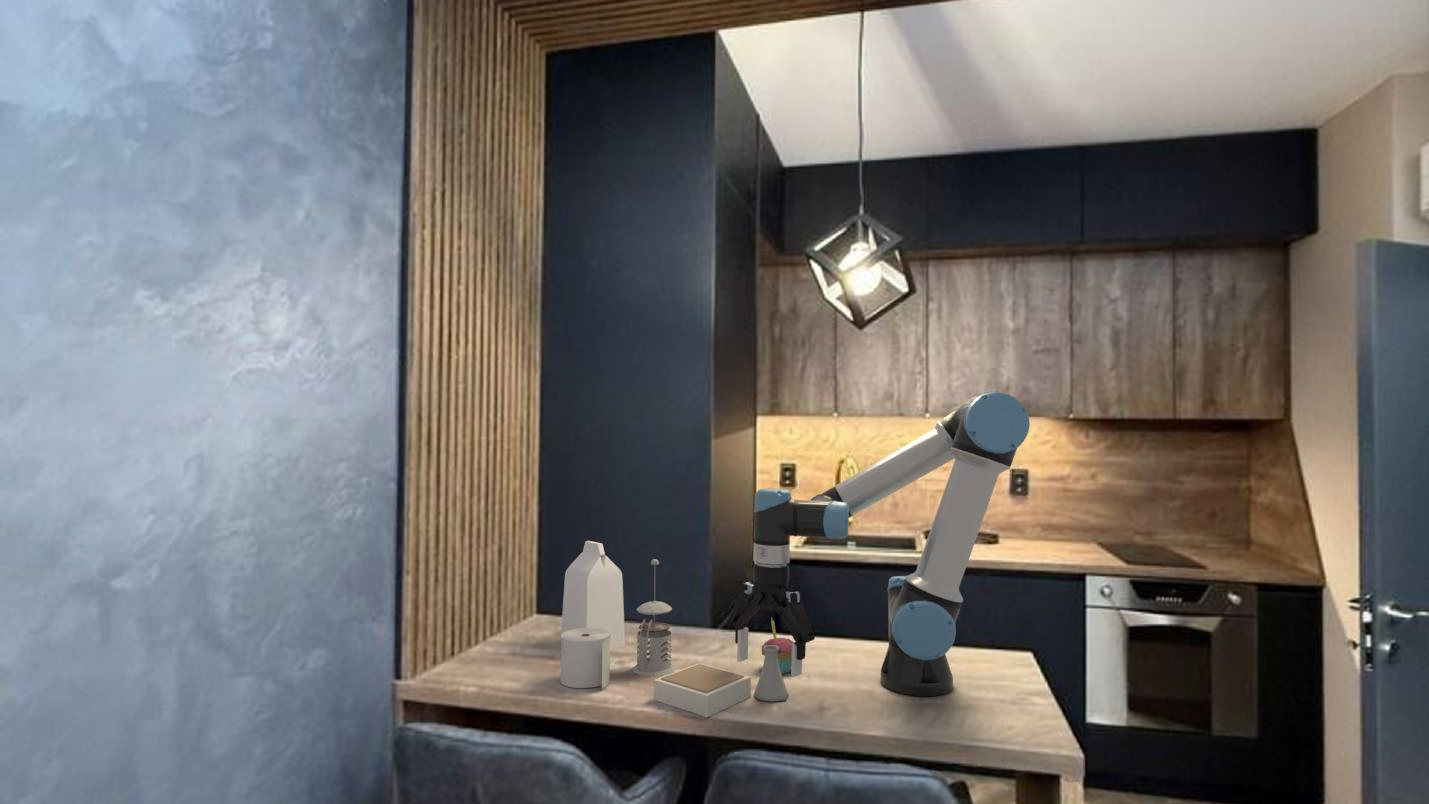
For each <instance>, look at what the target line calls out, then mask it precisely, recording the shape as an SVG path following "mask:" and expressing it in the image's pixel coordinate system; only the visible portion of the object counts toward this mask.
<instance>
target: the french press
mask: <svg viewBox="0 0 1429 804" xmlns="http://www.w3.org/2000/svg"><path fill="white" fill-rule="evenodd" d="M659 564H660V562H659V560H658V559H656V558H654V559H651V561H650V565H652V566H659ZM653 578H654V579H653V580H654V581H653V582H654V583H653V585H654V587H653V588H654V589H653V591H654V592H653V593H654V594H653V595H654V597H653V600H652V601H648V602H645V603H642V604H641V605H639V606H638V607H637V608H636V612H637V613H638V614H641V615H646V616H647V615H648V616H653V619H650V621H647V620H646V618H644V619H643V620H642V622H641V624H640V625H638V629H639V631H637V633H636V634H637V637H636V638H637V642H636V644H637V646H636V650H637V652H636V656H637V657H636V664H635V666H633V668H632V671H634V672H633V673H634V674H636V673H637V675H639V676H643V677H663V676H666V675H669V674H670V673H674V672H675V671H676V667H675V666H674V665H673V664H672V660H671V659H672V643H671V642H672V631H671V630H669V629H670V627H671V626H670V624H668V623H665V622H656V616H657V615H663V614H668V613H670V612H671V611H672V610H673V607H672V606H671V605H669V604H667V603H665V602H664V601H657V600H656V568H654V577H653ZM646 621H647V622H646ZM668 641H669V642H668ZM668 647H669V648H668ZM674 670H675V671H674Z"/></svg>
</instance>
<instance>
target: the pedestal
mask: <svg viewBox="0 0 1429 804" xmlns="http://www.w3.org/2000/svg"><path fill="white" fill-rule="evenodd" d="M751 683H752V677H751V676H748V675H744V674H741V673H738V672H733V671H729V670H725V669H723V668H722V669H721V668H718V667H715V666H710V665H708V664H705V663H704V664H703V663H696V664H693V665H691V666H688V667H686V668H682V669H680V670H677V671H674V672H672V673H671V674H667V675H663V676H659V677H658V678H655V679H654V680H653V700H654V701H656V702H659V703H663V704H665V705H669V706H671V707H675V708H677V709H681V710H684V711H687V712H689V713H693V714H696V715H699V716H702V717H706V718H708V717H710V716H712V715H715V714H717V713H719V712H721V711H723V710H725V709H727V708H730V707H731V706H734V705H736V704H738V703H740V702H743V701H745V700H747V699H748V698H751V697H752V696H751V695H752V694H751V693H752V692H751V691H752V689H751V688H752V687H751V685H752V684H751ZM744 699H745V700H744Z"/></svg>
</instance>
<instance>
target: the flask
mask: <svg viewBox="0 0 1429 804" xmlns="http://www.w3.org/2000/svg"><path fill="white" fill-rule="evenodd" d="M763 649H764V651H765V656H764V660H763V665H762V669H761V672H760V675H759V678H758V682H757V683H756V686H755V689H754V692H753V696H754V697H755V698H756V699H757V700H758V701H765V702H779V701H780V702H781V701H786V699H788V698H789V692H788V689H787V686H786V684H785V681H784V678H783V675H782V674H783V673H781V671H780V668H779V663H778V656H777V652H778V650H779V647H777V646H772V645H769V646H764V647H763Z"/></svg>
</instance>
